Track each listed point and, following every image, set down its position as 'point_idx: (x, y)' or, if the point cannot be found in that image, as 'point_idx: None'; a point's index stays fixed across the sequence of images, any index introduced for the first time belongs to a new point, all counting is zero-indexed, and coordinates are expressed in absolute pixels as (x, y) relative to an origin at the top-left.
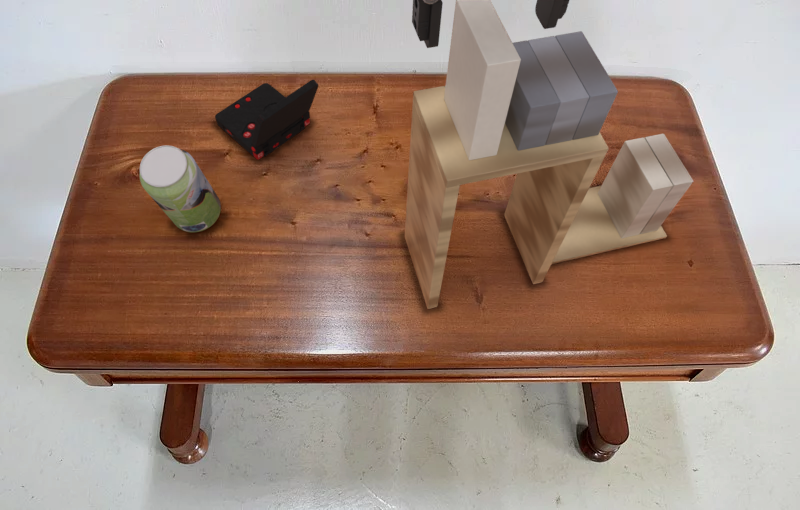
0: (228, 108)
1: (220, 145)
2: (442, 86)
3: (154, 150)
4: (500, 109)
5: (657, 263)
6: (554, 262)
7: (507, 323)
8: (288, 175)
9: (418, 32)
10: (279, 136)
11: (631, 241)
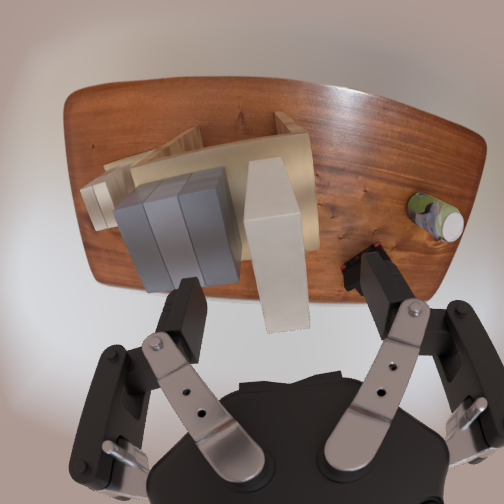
0: None
1: (396, 254)
2: None
3: (455, 238)
4: (258, 182)
5: (112, 144)
6: None
7: (222, 95)
8: (362, 228)
9: (396, 268)
10: None
11: (125, 160)
